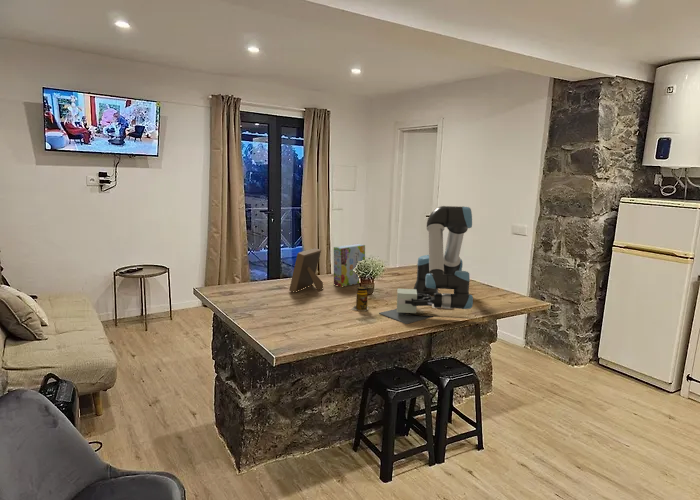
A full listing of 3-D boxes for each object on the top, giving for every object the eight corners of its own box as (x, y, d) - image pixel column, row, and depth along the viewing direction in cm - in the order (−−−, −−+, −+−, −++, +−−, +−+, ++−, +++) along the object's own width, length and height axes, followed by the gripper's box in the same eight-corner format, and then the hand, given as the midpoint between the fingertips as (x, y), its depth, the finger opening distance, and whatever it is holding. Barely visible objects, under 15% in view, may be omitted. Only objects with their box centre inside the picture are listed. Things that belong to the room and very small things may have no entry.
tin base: (432, 310, 252) (432, 300, 251) (430, 304, 263) (431, 295, 262) (452, 311, 251) (453, 301, 250) (450, 305, 262) (451, 296, 261)
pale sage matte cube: (396, 312, 237) (397, 293, 236) (396, 306, 247) (397, 288, 246) (416, 313, 236) (417, 294, 235) (415, 307, 246) (416, 289, 245)
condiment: (365, 311, 248) (366, 289, 246) (350, 309, 250) (351, 288, 248) (369, 307, 255) (370, 286, 253) (354, 306, 257) (355, 285, 255)
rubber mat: (378, 313, 244) (379, 312, 244) (405, 307, 256) (405, 306, 256) (406, 324, 229) (406, 322, 228) (433, 316, 241) (433, 315, 241)
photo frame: (289, 292, 283) (289, 251, 278) (307, 284, 302) (307, 246, 298) (310, 295, 277) (311, 254, 272) (327, 287, 296) (328, 249, 292)
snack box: (356, 280, 318) (357, 243, 313) (365, 282, 311) (366, 244, 307) (332, 285, 303) (333, 246, 299) (341, 287, 297) (342, 248, 292)
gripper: (443, 314, 228) (398, 311, 231) (439, 301, 251) (398, 299, 253) (444, 299, 227) (398, 297, 230) (440, 288, 249) (398, 286, 252)
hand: (398, 298), depth 241 cm, fingers closed on pale sage matte cube, 10 cm apart
